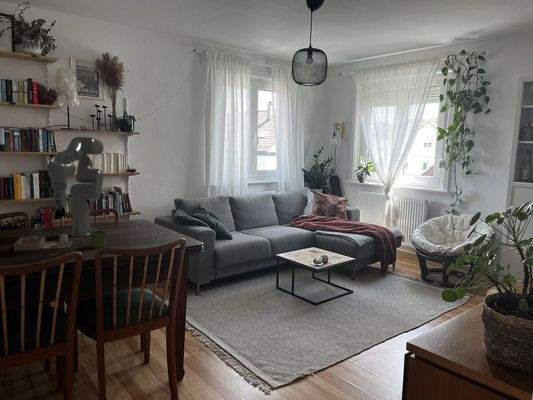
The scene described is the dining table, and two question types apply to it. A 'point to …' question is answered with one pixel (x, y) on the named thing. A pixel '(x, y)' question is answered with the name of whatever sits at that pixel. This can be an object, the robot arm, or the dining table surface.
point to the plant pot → (98, 238)
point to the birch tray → (55, 245)
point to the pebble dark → (32, 239)
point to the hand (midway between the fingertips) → (60, 217)
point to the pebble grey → (63, 240)
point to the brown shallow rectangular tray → (29, 244)
